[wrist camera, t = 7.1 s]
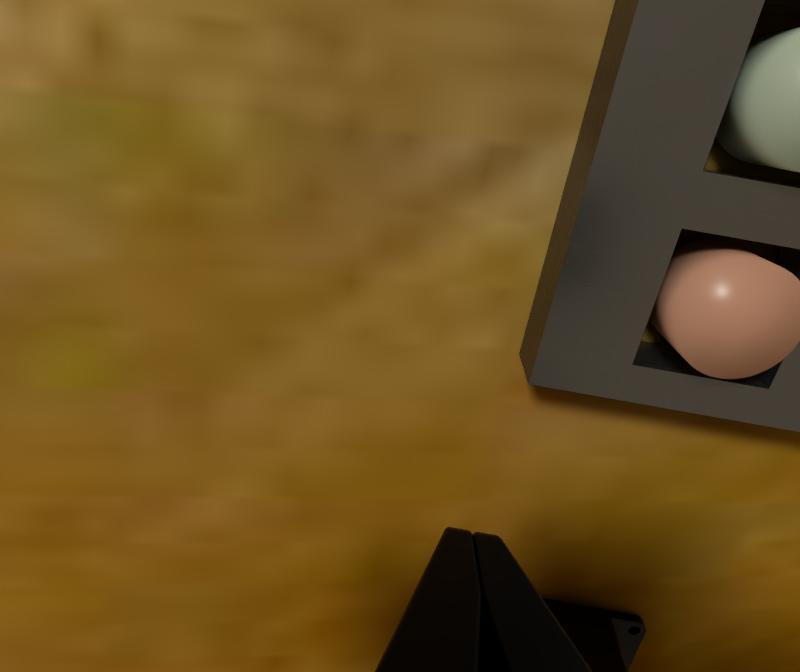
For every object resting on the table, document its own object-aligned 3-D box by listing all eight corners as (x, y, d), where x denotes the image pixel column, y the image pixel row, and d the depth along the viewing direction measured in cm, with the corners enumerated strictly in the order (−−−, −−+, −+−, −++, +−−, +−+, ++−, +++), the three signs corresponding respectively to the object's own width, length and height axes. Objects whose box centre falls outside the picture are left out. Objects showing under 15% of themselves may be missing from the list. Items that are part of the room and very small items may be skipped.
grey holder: (1159, -301, 13) (1309, -385, 11) (799, 403, 20) (843, 439, 18) (718, -377, 13) (775, -478, 11) (519, 353, 20) (528, 384, 18)
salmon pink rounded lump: (731, 350, 19) (776, 388, 17) (629, 332, 19) (658, 367, 17) (775, 250, 18) (832, 274, 15) (665, 230, 18) (703, 251, 15)
